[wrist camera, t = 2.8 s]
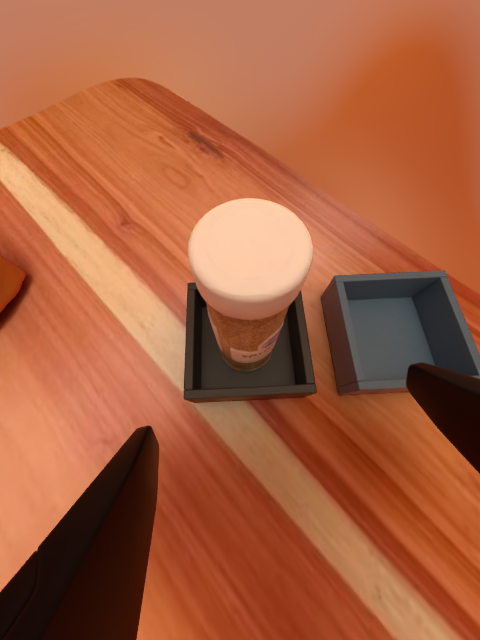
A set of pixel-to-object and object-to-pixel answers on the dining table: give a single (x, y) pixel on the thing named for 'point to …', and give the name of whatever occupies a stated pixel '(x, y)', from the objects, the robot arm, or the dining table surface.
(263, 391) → the tray
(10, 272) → the coffee package
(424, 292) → the tray
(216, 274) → the sprinkles bottle
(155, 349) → the dining table surface
